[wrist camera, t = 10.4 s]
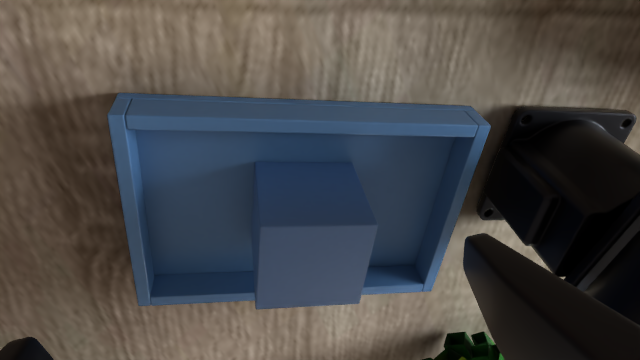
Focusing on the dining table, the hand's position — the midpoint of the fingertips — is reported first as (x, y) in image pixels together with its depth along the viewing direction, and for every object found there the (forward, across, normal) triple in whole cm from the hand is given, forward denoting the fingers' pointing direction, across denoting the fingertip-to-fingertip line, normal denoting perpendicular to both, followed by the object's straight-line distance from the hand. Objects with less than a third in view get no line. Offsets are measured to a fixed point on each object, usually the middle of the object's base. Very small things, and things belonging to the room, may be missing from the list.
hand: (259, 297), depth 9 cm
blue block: (+11, -1, +6) cm, 12 cm away
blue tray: (+11, -1, +6) cm, 13 cm away
